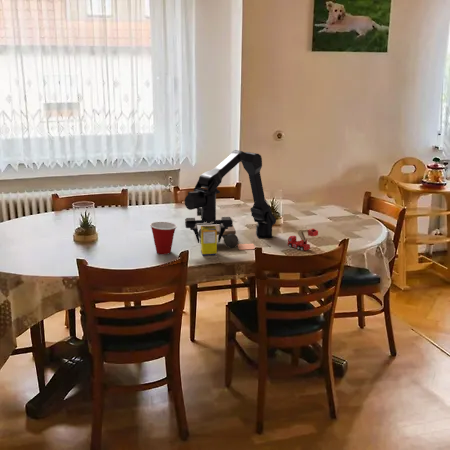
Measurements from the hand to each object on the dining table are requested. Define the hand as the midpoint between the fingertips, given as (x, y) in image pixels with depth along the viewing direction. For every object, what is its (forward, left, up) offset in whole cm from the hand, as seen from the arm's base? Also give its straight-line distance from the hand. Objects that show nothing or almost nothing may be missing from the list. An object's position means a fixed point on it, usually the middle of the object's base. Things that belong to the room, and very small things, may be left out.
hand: (208, 242), depth 221 cm
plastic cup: (+18, -3, -5) cm, 19 cm away
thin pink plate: (-16, -6, -4) cm, 18 cm away
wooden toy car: (-5, -12, -4) cm, 14 cm away
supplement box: (0, 0, -5) cm, 5 cm away
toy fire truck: (-39, -2, -5) cm, 40 cm away
